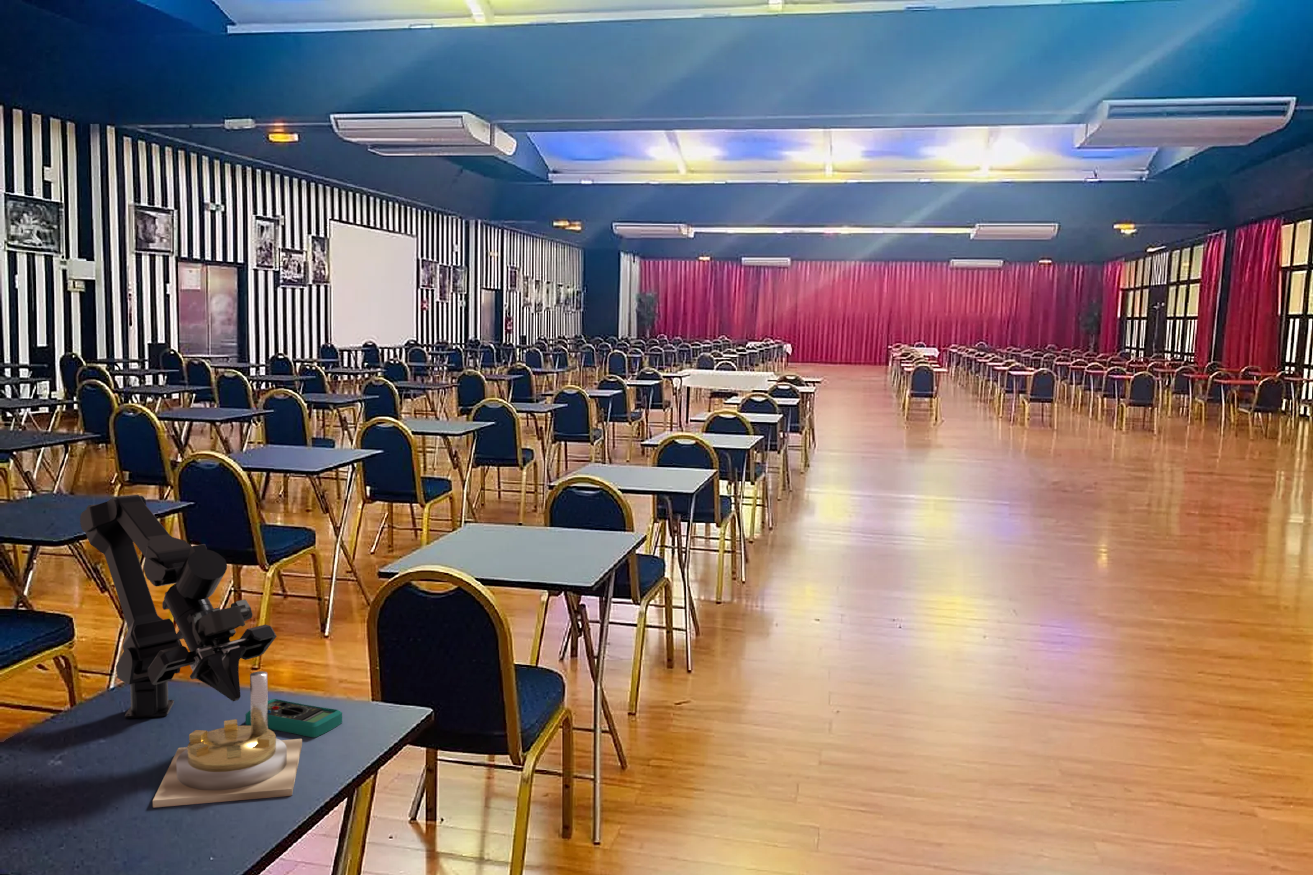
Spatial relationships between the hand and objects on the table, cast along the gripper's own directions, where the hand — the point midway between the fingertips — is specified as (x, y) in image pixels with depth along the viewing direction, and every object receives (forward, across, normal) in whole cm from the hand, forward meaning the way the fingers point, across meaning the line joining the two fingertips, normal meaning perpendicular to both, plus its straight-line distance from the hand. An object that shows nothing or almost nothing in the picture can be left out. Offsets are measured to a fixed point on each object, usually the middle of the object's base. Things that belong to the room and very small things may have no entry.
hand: (237, 699), depth 156 cm
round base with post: (+8, -4, +1) cm, 9 cm away
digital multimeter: (+4, +13, +10) cm, 17 cm away
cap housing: (+10, -4, +3) cm, 11 cm away
